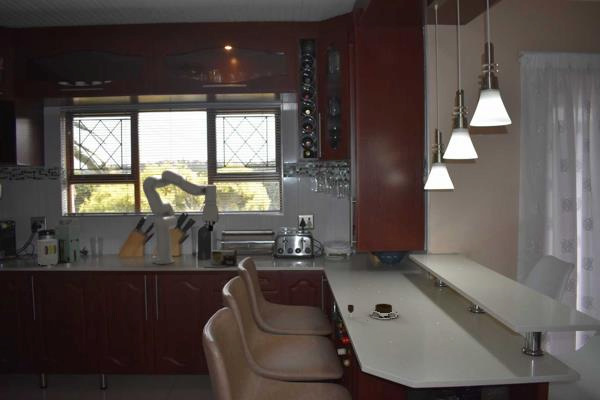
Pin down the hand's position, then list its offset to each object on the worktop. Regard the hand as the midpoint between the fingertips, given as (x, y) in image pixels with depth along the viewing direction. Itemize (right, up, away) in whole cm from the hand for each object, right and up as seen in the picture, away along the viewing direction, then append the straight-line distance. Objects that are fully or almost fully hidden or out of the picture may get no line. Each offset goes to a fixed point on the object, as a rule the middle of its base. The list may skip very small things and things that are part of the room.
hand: (210, 231), depth 315 cm
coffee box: (0, -17, +2) cm, 17 cm away
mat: (+5, -23, -1) cm, 23 cm away
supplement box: (-112, -23, +9) cm, 115 cm away
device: (-105, -23, +21) cm, 109 cm away
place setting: (+90, -29, -113) cm, 147 cm away
